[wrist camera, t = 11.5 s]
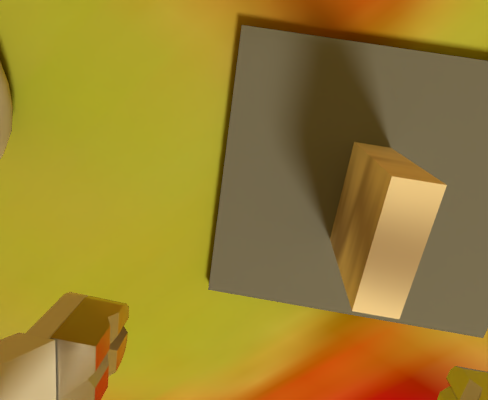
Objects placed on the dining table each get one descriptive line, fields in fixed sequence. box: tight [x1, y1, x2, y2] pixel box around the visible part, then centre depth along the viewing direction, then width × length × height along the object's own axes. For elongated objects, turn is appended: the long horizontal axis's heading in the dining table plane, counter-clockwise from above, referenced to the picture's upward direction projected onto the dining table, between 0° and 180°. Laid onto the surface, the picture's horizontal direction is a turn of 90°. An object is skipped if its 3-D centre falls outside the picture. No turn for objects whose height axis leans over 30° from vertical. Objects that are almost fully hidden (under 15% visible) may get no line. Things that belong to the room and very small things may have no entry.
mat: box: [208, 25, 488, 338], centre depth 21 cm, size 16×18×1 cm
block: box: [330, 142, 447, 319], centre depth 17 cm, size 6×2×7 cm, turn 172°
